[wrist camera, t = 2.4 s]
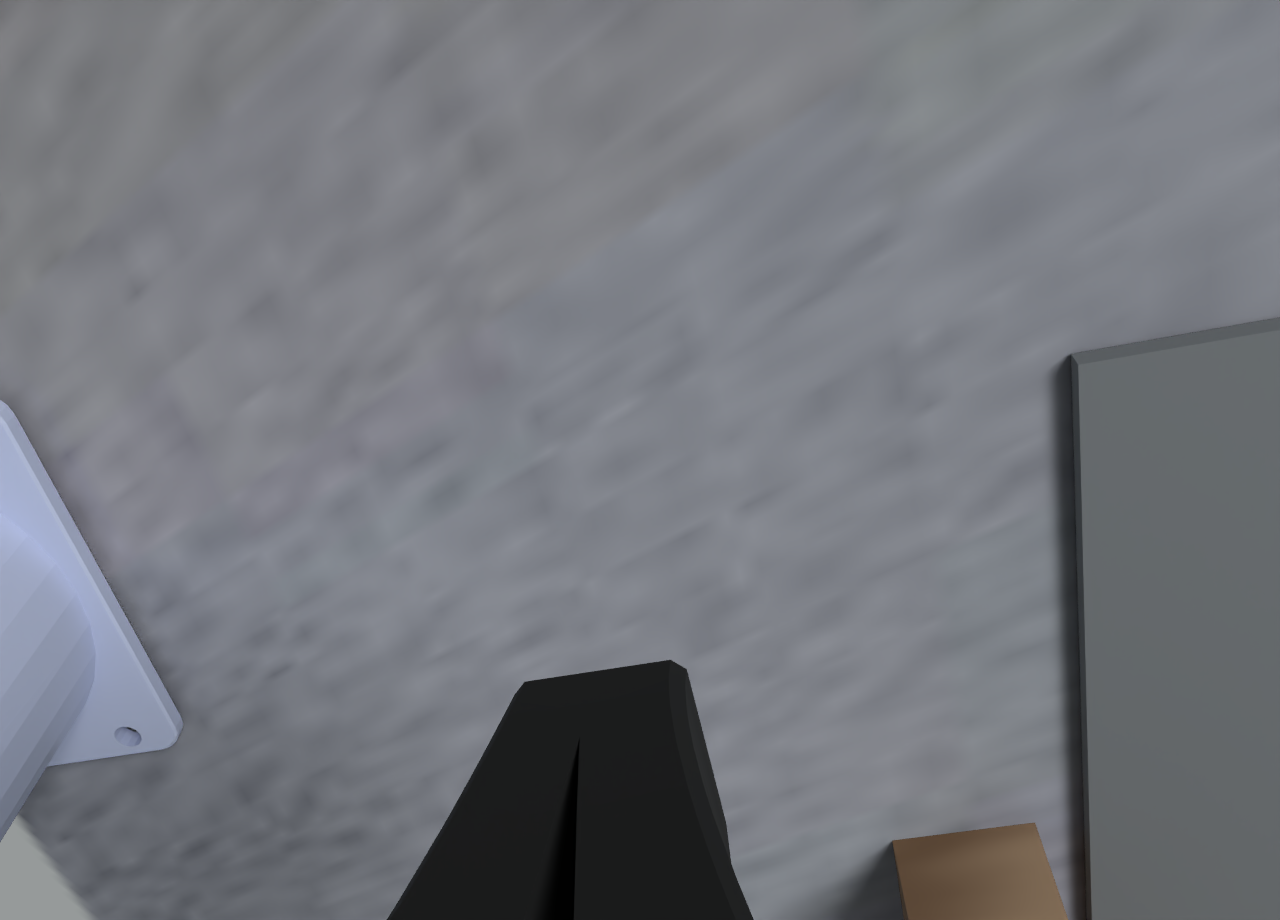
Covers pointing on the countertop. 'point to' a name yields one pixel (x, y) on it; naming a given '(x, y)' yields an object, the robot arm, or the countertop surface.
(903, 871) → the wooden block
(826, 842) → the countertop surface
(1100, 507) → the mat
